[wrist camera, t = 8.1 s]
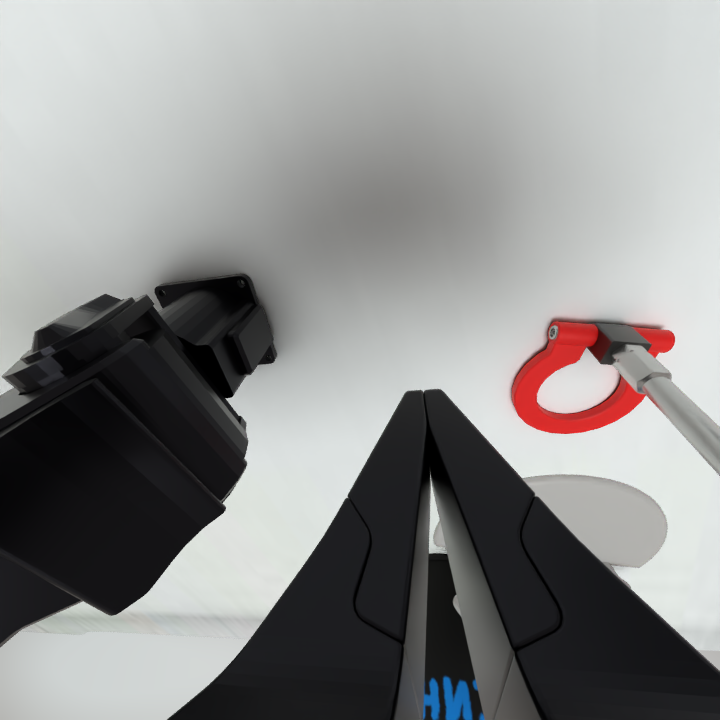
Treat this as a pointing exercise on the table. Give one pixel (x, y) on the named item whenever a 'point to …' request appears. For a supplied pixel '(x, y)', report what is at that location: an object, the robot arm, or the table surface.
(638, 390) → the tow hook
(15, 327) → the table surface
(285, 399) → the table surface
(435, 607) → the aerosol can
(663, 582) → the table surface
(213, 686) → the robot arm
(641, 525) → the ornament
